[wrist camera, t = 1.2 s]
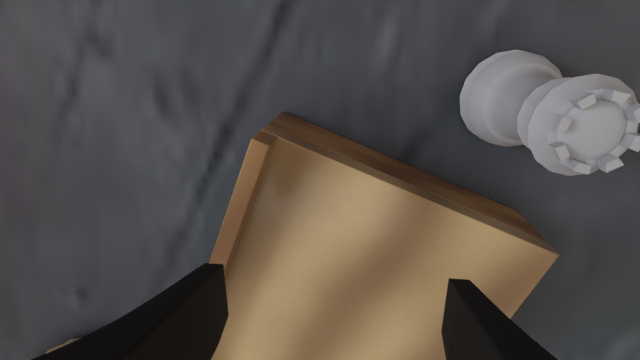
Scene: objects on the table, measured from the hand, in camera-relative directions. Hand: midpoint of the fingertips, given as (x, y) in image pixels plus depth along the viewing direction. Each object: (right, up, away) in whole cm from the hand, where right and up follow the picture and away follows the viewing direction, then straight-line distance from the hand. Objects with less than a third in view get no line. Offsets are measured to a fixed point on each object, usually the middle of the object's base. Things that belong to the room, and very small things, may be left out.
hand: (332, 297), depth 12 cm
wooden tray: (+1, -2, +11) cm, 11 cm away
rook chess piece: (+9, +8, +7) cm, 14 cm away
